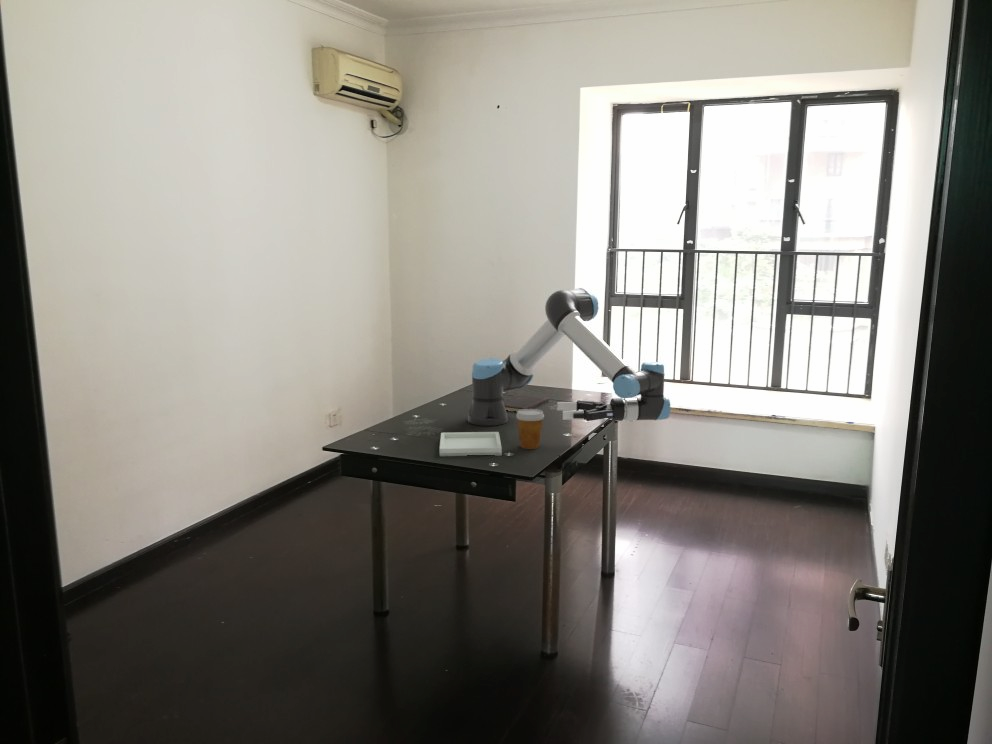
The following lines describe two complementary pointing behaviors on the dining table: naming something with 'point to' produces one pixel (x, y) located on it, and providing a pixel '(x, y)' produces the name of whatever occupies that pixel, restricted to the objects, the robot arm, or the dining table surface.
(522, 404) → the hardcover book
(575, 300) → the robot arm
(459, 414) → the dining table surface
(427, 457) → the dining table surface
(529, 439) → the disposable coffee cup
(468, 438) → the tray
